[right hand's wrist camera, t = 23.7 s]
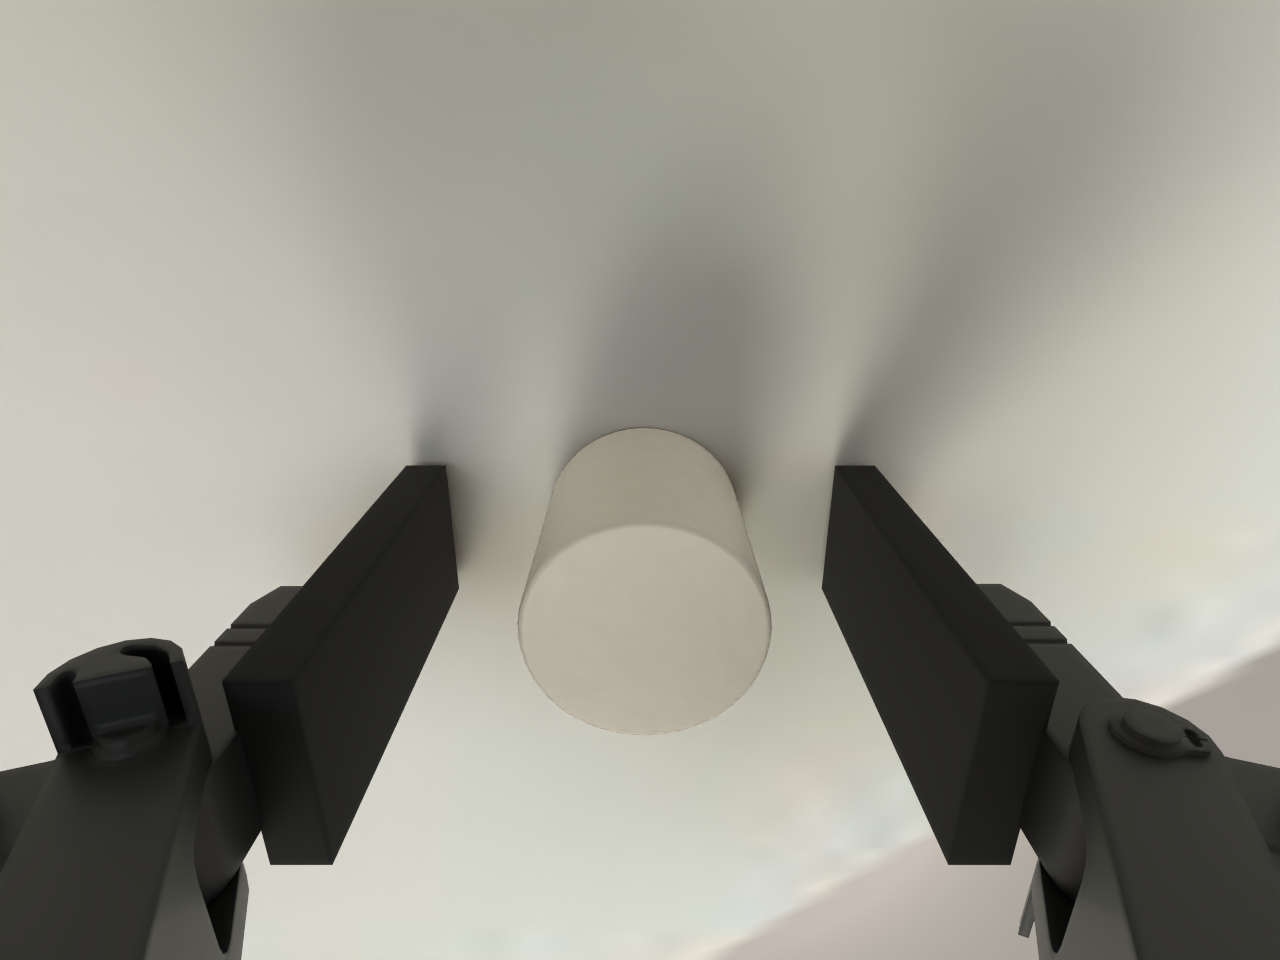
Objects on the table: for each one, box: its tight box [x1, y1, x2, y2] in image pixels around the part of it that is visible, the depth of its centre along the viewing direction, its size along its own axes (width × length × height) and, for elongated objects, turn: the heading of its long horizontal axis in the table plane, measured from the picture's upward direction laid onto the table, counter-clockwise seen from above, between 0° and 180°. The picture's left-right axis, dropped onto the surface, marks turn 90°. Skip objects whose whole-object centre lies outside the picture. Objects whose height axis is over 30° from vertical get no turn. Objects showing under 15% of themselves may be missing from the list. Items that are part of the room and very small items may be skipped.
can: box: [518, 428, 772, 735], centre depth 12 cm, size 4×4×4 cm
